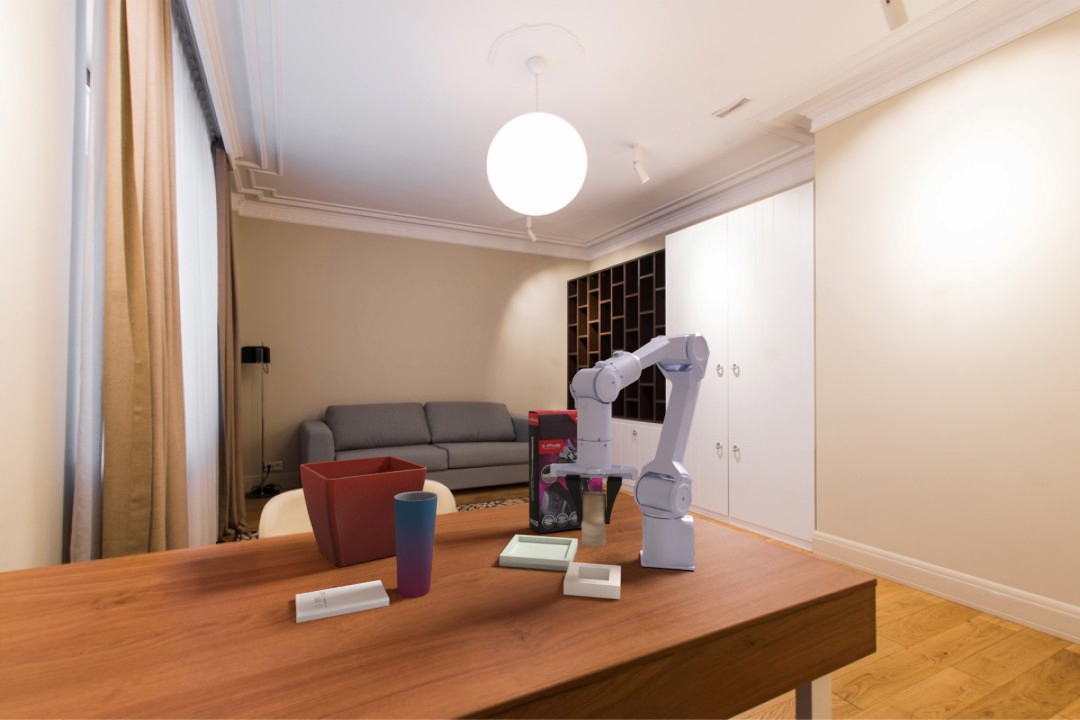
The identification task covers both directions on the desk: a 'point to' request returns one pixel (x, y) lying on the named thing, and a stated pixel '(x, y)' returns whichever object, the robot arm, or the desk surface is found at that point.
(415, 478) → the plant pot
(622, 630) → the desk surface
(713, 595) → the desk surface
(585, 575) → the pin holder
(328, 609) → the external hard drive
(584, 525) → the peg
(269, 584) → the desk surface
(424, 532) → the cup
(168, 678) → the desk surface
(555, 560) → the tray
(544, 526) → the graphics card box
